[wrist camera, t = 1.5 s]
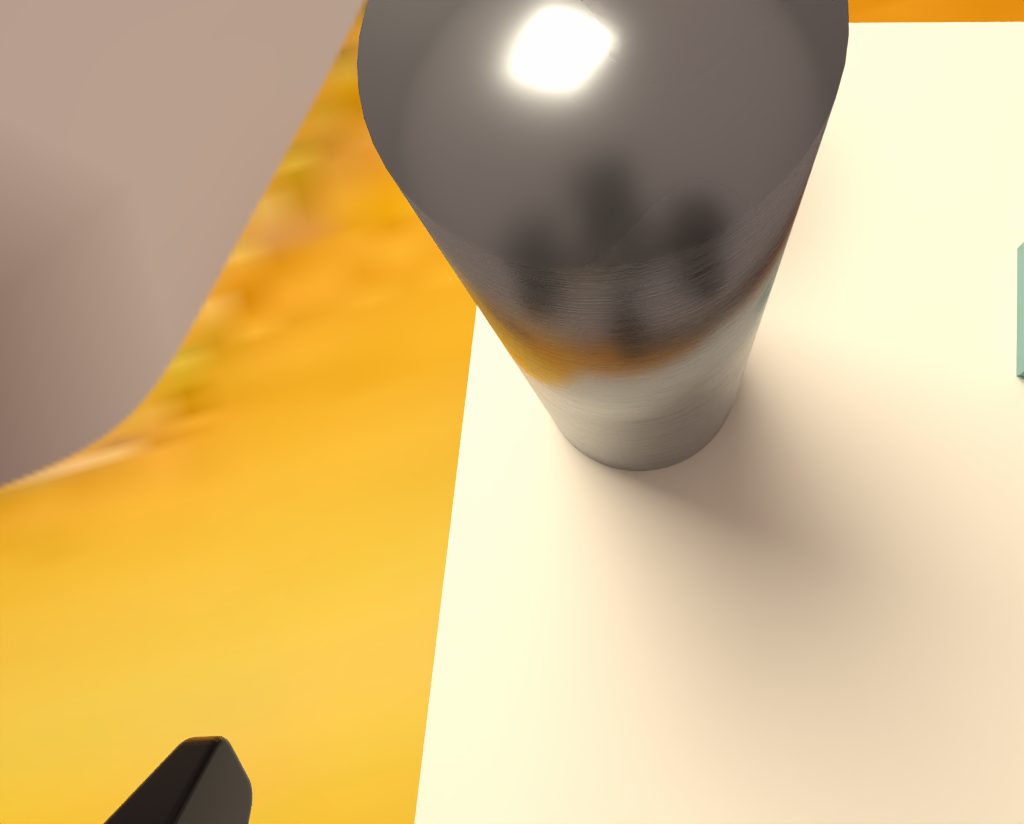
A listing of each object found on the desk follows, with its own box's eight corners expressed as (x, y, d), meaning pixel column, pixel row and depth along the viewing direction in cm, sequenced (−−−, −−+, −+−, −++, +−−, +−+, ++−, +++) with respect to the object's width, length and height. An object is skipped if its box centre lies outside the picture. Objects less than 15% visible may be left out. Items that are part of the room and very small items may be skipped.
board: (1692, 1286, 16) (1917, 1438, 13) (411, 1019, 21) (370, 1088, 18) (1556, 72, 20) (1703, -15, 18) (523, 69, 25) (504, -1, 22)
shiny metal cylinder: (730, 479, 20) (837, 278, 7) (534, 462, 21) (325, 256, 8) (743, 289, 21) (858, -187, 8) (553, 281, 21) (390, -166, 9)
